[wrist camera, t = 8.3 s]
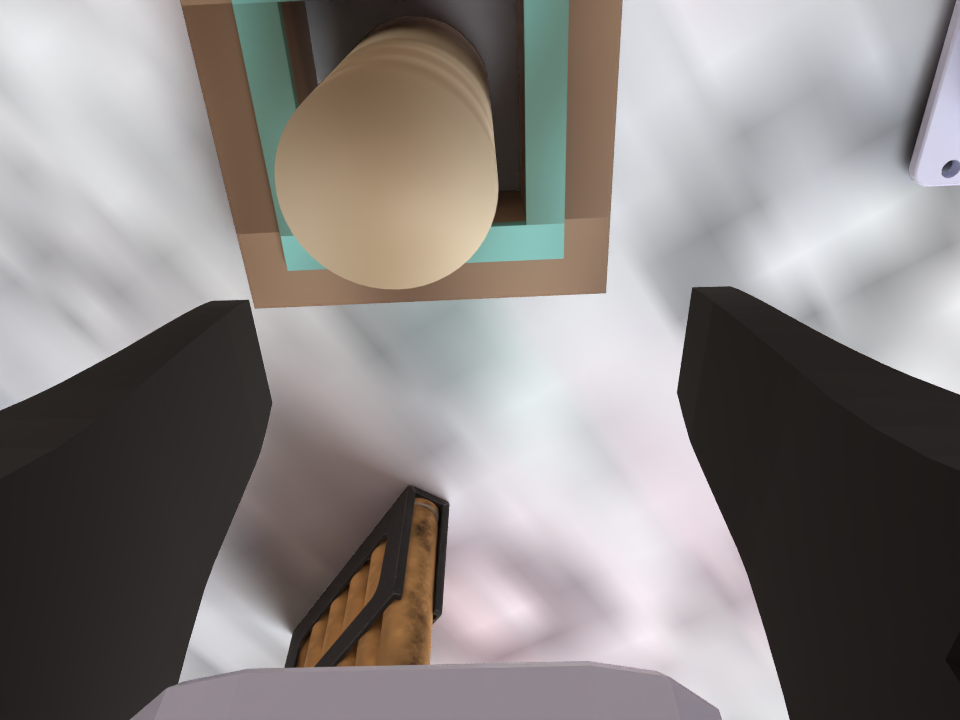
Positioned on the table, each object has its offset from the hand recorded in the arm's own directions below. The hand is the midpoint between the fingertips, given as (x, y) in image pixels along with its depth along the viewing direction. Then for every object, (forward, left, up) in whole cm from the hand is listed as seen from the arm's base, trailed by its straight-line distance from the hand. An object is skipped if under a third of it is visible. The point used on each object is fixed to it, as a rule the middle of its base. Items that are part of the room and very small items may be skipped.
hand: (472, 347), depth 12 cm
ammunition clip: (+5, +17, -11) cm, 21 cm away
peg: (+1, -2, -10) cm, 11 cm away
